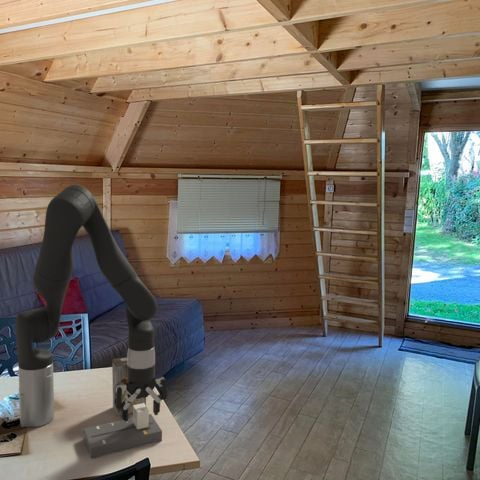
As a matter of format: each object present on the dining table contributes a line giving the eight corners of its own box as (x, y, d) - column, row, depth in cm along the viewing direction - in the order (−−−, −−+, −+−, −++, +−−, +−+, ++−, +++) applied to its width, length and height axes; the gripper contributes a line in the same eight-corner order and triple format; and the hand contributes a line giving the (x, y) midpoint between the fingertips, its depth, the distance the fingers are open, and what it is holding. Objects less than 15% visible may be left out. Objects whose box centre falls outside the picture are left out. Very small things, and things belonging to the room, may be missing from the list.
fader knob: (137, 429, 128) (137, 412, 128) (132, 421, 132) (132, 405, 132) (148, 426, 130) (148, 410, 129) (143, 419, 134) (144, 403, 133)
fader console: (91, 458, 120) (91, 447, 120) (84, 438, 129) (84, 428, 129) (161, 440, 129) (162, 430, 129) (150, 423, 138) (150, 413, 138)
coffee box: (140, 401, 151) (141, 354, 149) (146, 410, 145) (146, 361, 143) (112, 407, 147) (111, 358, 144) (116, 416, 141) (116, 366, 139)
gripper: (118, 371, 122) (118, 429, 124) (170, 363, 129) (169, 418, 131) (111, 361, 128) (112, 416, 131) (161, 353, 135) (160, 405, 137)
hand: (140, 417), depth 131 cm, fingers open, 8 cm apart
